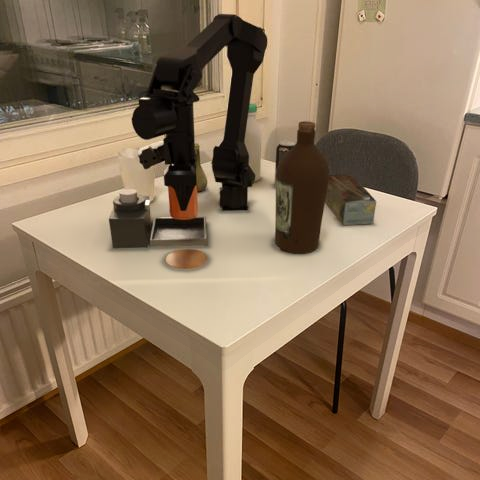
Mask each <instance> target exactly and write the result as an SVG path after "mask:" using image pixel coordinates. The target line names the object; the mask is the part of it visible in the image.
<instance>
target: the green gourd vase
mask: <svg viewBox="0 0 480 480" xmlns="http://www.w3.org/2000/svg"><path fill="white" fill-rule="evenodd" d="M195 149H196V150H197V162H195V163H196V164H197V168H196V170H197V192H202V191H203V190H205V189H206V188H207V187H208V178H207V175H206V173H205V171H204V169H203V167H202V165H201V151H200V144H199V143H197V142H195Z"/></svg>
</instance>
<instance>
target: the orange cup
mask: <svg viewBox="0 0 480 480" xmlns="http://www.w3.org/2000/svg"><path fill="white" fill-rule="evenodd" d="M167 194H168V207H169V208H168V209H169V217H172V218H174V219H178V220H188V219H193V218H195V217H199V205H198V204H199V201H198V191H197V185H196V186H195V188H194V190H193V193H192V196H191V198H190V201H189V204H188V206H187V209H186V211H181V210H180V207H179V203H178V200H177V197H176V193H175V190H174V189H173V188H172V187H171V186H167Z"/></svg>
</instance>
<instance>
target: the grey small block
mask: <svg viewBox="0 0 480 480" xmlns="http://www.w3.org/2000/svg"><path fill="white" fill-rule="evenodd" d="M145 209H147V211H148V212H149V211H150V212H151V202H150V200H146V203H145Z"/></svg>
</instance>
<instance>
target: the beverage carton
mask: <svg viewBox="0 0 480 480" xmlns="http://www.w3.org/2000/svg"><path fill="white" fill-rule="evenodd" d="M325 204H327V205H328V207H329V208H330V209H331V211H332V212H333V214H334V215H335V216H336V218H337V219H338V221H340V222H341V224H342V225H343V226H355V225H369V224H370V225H371V224H374V219H375V215H376V214H375V213H376V207H377V200H376V199H375V198H374V197H373V196H372V195H371V193H370V192H369V191H368V190H367V189H366V188H365V187H364V186H363V184H361V183H360V181H358V180H357V178H356V177H355V176H354V175H353V174H352V173H343V174H340V173H337V174H329V183H328V188H327V194H326V200H325Z"/></svg>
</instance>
